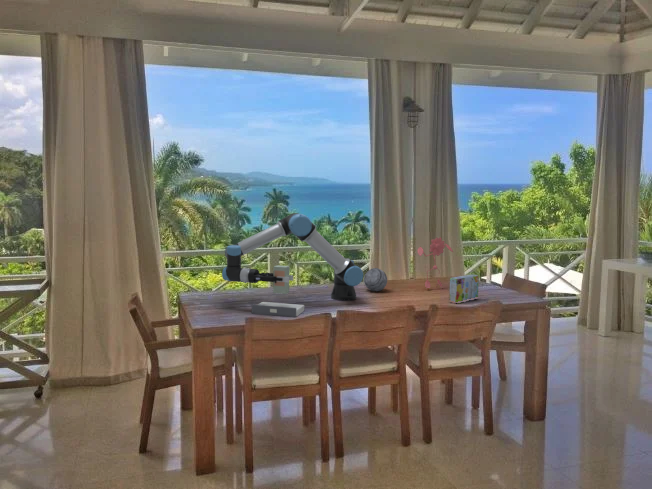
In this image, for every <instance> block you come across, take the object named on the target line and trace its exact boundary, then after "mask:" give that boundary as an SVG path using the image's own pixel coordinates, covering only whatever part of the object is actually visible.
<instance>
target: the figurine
mask: <svg viewBox="0 0 652 489" xmlns="http://www.w3.org/2000/svg"><path fill="white" fill-rule="evenodd" d="M445 247H446V248H447V249H448V250H449V251H450V252H452V253H454V251H453V249H452V247H451V246H450V245H449V244H447V243H445V240H443V239H442V237H441V236H439V237H435V238H434V239H433V238H432V239H431V244H430V245H429V252H430V253H429V254H426V253H425V252H424V249H423V247H421V246H419V247H418V248H417V250H416V251H417V255H418V256H420V257H422V256H423V255H424V257H429V256H432V255H433V259H434V260H433V261H434V265H433V266H432V268H431V269H428V270H427V271H426V273H428V272H430V271H432V270H438V273H440V270H439V269H438V266H437V264H436V263H437V262H436V257H435V256H440V255H441V254H443V253H444V249H445ZM428 277H429V276H428V274H426V280H425V283H424V286H425V287H426V289H427V288H430V289H431V282H430V281H429V279H428ZM438 285H439V287H440V288H441V286H443V284H442V282H441V280H440V279H437V283H436V286H438ZM425 287H424V288H425Z"/></svg>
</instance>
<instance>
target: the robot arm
mask: <svg viewBox="0 0 652 489" xmlns="http://www.w3.org/2000/svg"><path fill="white" fill-rule="evenodd" d="M292 234H293V235H294V236H295V237H296V238H297V239H298V240H299V241H301V242H302V243H303V242H304V243H306V244H307V245H308V246H310V247H311V248H312V250H313V251H315V252H316V253H317V254H318V255H319V256H320V257H321V258H322V259H323V260H324V261H325V262H326V263H327V264H328V265H330V266H331V268H332V269H334V272H333V273H334V274H333V276H334V278H333V287H332V291H331V293H330V298H331V299H332V300H336V301H354V300H356V299H357V292H356V290H355V287H356V286H358V285H360V284H361V283H362V281H363V280H364V272H363V269H362V268H361V267H360V266H358V265H357V264H355V260H353V259H350V258H345V257H344V256H343V255H342V254H341V253H340V252H339V251H338V250H337V249H336V248H335V247H334V246H332V244H331V243H329V242H328V240H327V239H325V237H324V236H322V235H321V234H320V232H318V230H317V226H316V225H315V224H314V223H313V222H312V221H311V219H310V218H309V216H308V215H305V214H304V213H299V212H293V213H290V214H289V215H287V216H285V217H283V218H281V219H280V220H278V221H277V223H275V224H273V225H272V226H269V227H268V228H266V229H263V230H261V231H260V232H257V233H255V234H253V235H251V236H249V237H247V238H245V239H242V240H241V241H239V242H237V243H235V244H232V245H227V247H226V248H225V250H224V256H225V258H226V266H225V267H224V268H223V269H222V272H221V278H222V280H224V281H227V282H234V283H244V284H247V283H250V284H257V283H258V282H268V283H273V282H275V283H276V281H277V282H288V283H289V284H290V281H291V282H293V281H294V275H292V274H289V277H281V276H277V277H276V276H273V273H272V272H263V271H261V272H260V271H259V269H257V268H246V267H242V262H241V261H242V256H244V255H246V254H248V253H251V252H252V251H254V250H256V249H259V248H260V247H262V246H265V245H266V244H269V243H271V242H272V241H274V240H277V239H279V238H281V237H282V236H283V237H287V236H288V235H289V236H290V235H292Z"/></svg>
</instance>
